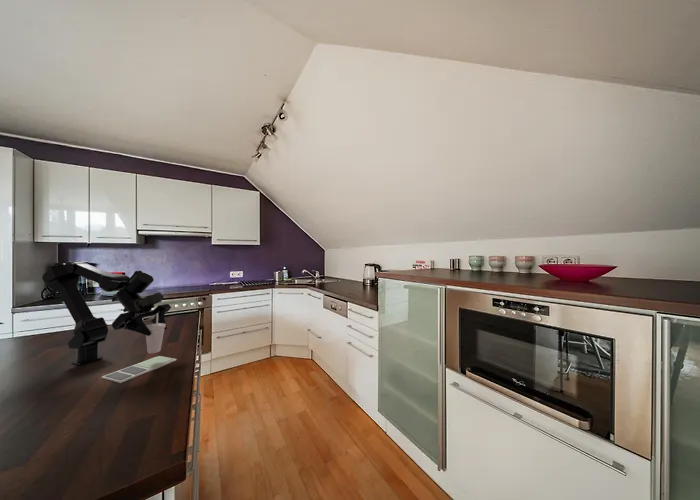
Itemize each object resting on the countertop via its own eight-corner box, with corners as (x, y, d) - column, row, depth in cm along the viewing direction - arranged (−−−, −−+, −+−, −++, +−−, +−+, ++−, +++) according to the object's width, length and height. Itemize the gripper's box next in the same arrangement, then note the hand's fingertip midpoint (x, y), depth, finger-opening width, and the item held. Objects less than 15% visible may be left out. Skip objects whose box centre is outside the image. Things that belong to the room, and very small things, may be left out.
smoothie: (161, 353, 88) (163, 314, 89) (139, 355, 86) (141, 315, 86) (167, 347, 94) (168, 311, 95) (146, 349, 91) (148, 312, 92)
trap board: (101, 378, 79) (101, 376, 79) (158, 357, 96) (158, 355, 96) (120, 383, 76) (120, 381, 76) (176, 360, 92) (176, 358, 92)
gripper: (120, 290, 82) (148, 324, 80) (167, 283, 100) (191, 311, 99) (99, 313, 82) (127, 347, 81) (150, 302, 101) (173, 330, 99)
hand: (158, 332), depth 90 cm, fingers closed on smoothie, 6 cm apart
